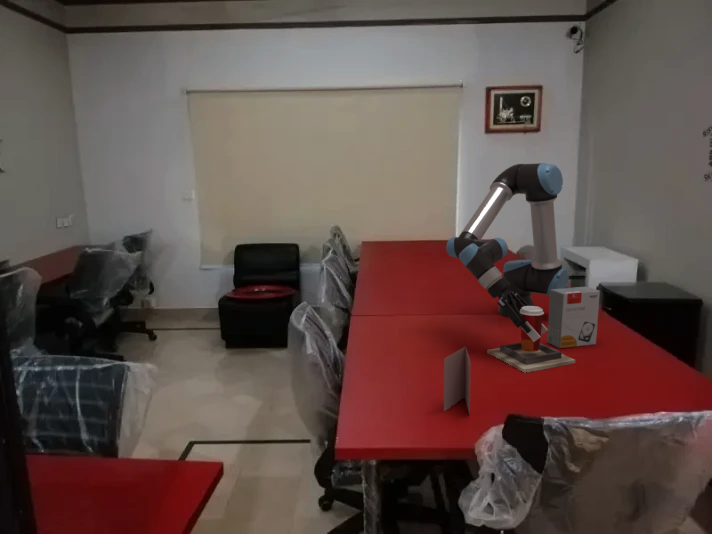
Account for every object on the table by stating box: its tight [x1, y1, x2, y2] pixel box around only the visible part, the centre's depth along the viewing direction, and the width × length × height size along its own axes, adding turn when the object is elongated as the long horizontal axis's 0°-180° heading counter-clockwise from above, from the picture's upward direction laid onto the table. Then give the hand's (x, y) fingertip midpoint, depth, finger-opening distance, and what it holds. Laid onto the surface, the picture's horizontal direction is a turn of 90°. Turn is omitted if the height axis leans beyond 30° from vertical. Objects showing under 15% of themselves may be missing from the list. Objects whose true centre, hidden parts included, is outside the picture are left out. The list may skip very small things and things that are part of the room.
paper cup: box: [520, 305, 545, 352], centre depth 184 cm, size 8×8×14 cm
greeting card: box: [443, 346, 471, 416], centre depth 150 cm, size 11×7×15 cm, turn 141°
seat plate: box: [487, 341, 576, 374], centre depth 186 cm, size 20×20×3 cm
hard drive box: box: [546, 286, 601, 349], centre depth 198 cm, size 16×8×20 cm, turn 105°
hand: (541, 335), depth 183 cm, fingers closed on paper cup, 8 cm apart
